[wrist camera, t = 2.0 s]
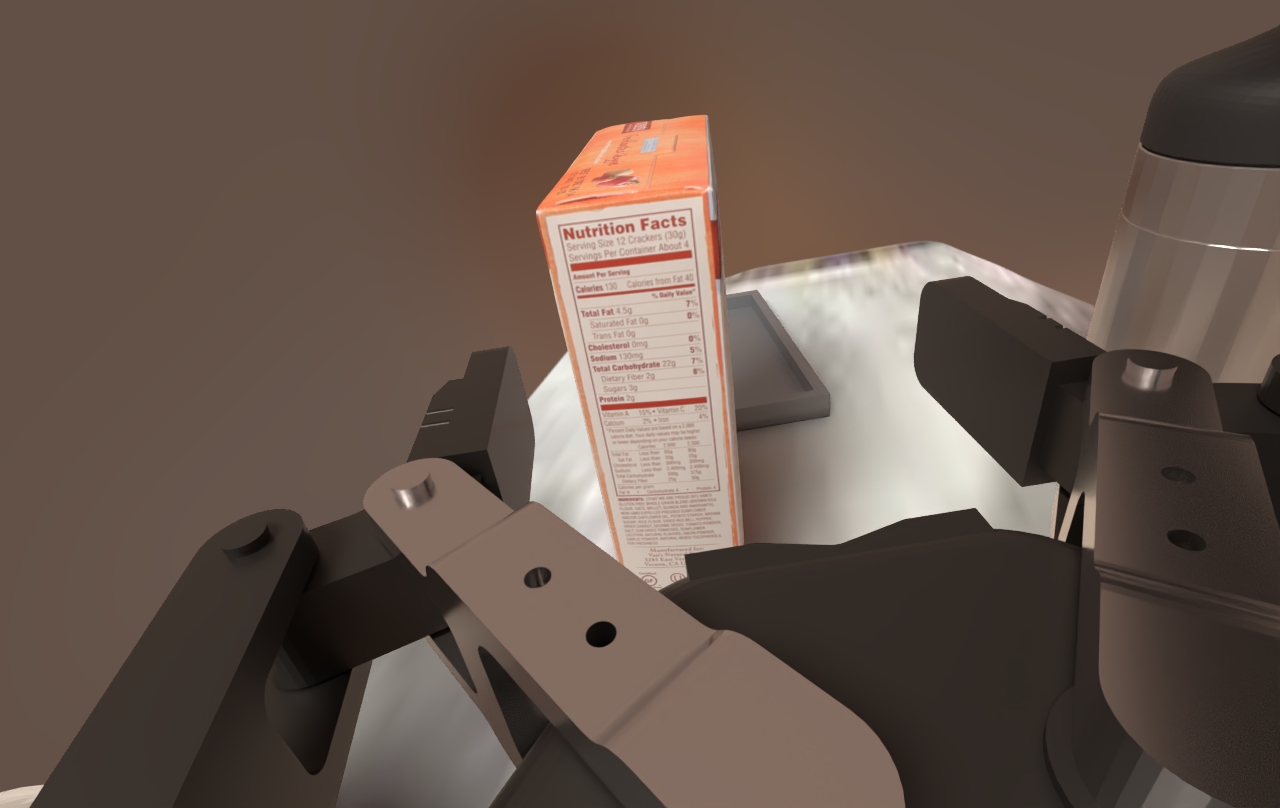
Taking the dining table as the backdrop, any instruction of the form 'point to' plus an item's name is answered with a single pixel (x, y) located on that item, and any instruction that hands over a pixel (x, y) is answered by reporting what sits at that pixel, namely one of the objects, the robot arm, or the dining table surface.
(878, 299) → the dining table surface
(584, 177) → the cracker box
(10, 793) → the coffee mug
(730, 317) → the tray
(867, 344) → the dining table surface
